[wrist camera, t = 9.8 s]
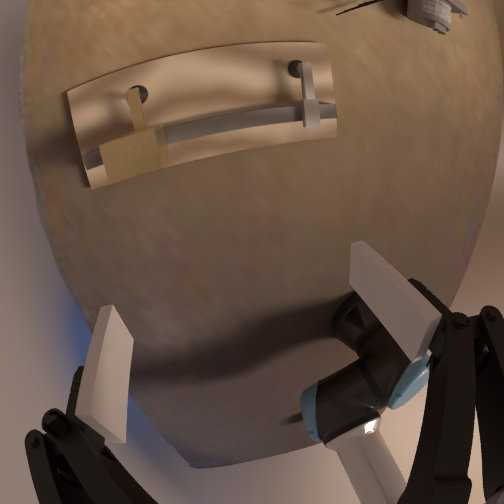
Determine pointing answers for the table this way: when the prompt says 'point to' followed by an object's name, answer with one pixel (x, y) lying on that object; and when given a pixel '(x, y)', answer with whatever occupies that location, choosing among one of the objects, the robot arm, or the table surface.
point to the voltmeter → (430, 12)
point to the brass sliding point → (135, 146)
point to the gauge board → (212, 101)
